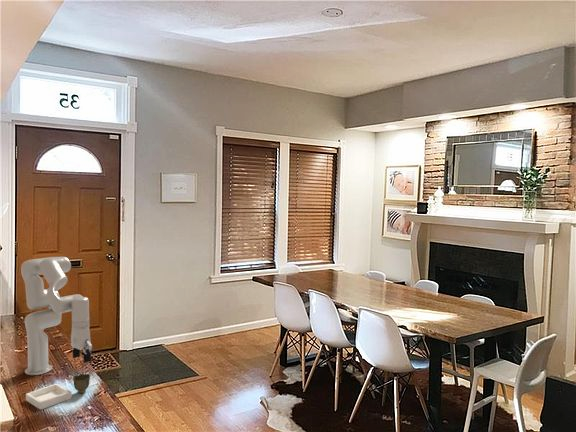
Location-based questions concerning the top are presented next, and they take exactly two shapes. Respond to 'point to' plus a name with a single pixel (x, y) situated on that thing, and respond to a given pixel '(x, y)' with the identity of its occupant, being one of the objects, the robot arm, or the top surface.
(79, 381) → the ornate bronze bell
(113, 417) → the top surface
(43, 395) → the tray
